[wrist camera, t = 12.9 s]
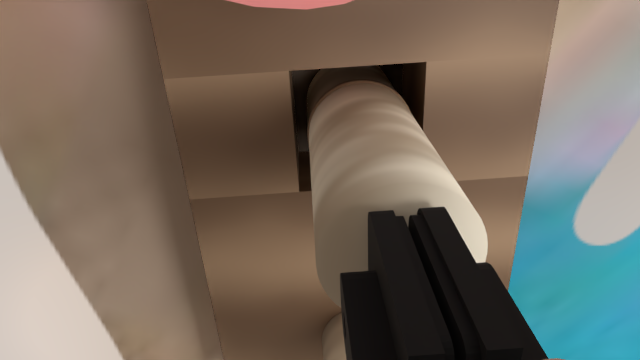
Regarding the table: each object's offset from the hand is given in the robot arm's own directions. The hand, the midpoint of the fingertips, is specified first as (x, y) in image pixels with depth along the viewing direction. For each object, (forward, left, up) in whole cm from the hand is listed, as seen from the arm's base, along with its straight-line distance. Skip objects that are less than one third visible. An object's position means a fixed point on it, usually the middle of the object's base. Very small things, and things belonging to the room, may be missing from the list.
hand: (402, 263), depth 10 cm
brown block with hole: (-5, 0, -12) cm, 13 cm away
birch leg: (0, 0, -12) cm, 12 cm away
